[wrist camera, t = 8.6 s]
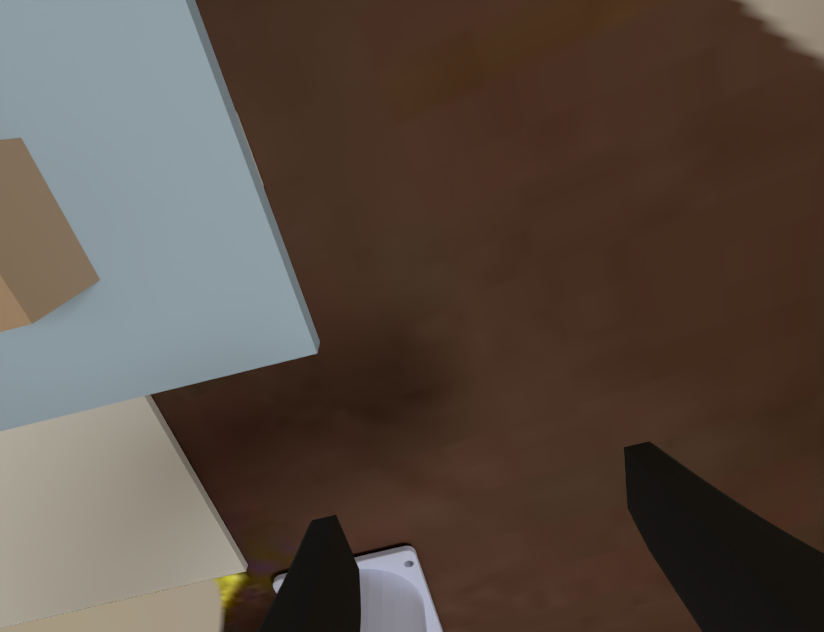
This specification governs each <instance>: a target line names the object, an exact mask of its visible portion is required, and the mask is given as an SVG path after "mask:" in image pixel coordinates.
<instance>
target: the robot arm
mask: <svg viewBox="0 0 824 632" xmlns="http://www.w3.org/2000/svg"><path fill="white" fill-rule="evenodd" d="M624 454H625V471H626V487H627V504H628V509H629V511H630V513H631V515H632V517H633V519H634V522H635V524H636V526H637V528H638V530H639V531H640V533H641V535H642V537H643V539H644V541H645V543H646V545H647V547H648V549H649V550H650V552H651V554H652V555H653V557H654V558H655V560H656V561H657V563H658V564H659V566H660V568H661V569H662V571H663V572H664V574H665V575H666V577H667V578H668V580H669V581H670V583H671V584H672V586H673V588H674V589H675V591H676V592H677V594H678V595H679V597H680V598H681V600H682V601H683V603H684V604H685V606H686V607H687V609H688V610H689V612H690V613H691V615H692V616H693V618H694V619H695V621H696V623H697V624H698V626H699V627H700V629H701V630H702V632H824V553H822V552H820V551H818V550H816V549H814V548H813V547H811V546H809V545H807V544H805V543H804V542H802V541H800V540H799V539H797V538H795V537H793V536H792V535H790V534H788V533H786V532H785V531H783V530H781V529H780V528H778V527H776V526H775V525H773V524H771V523H770V522H768V521H766V520H765V519H763V518H762V517H760V516H758V515H757V514H755V513H754V512H752V511H750V510H749V509H747V508H746V507H744V506H743V505H741V504H740V503H738V502H736V501H735V500H733V499H732V498H730V497H729V496H727V495H726V494H724V493H723V492H721V491H720V490H718V489H717V488H715V487H714V486H712V485H711V484H709V483H708V482H706V481H705V480H703V479H702V478H701V477H699V476H698V475H696V474H695V473H693V472H692V471H690V470H689V469H688V468H686V467H685V466H683V465H682V464H681V463H679V462H678V461H676V460H675V459H674V458H672V457H671V456H669V455H668V454H667V453H665V452H664V451H662V450H661V449H660V448H658V447H657V446H655V445H654V444H652V443H651V442H645V443H641V444H636V445H632V446H628V447H624ZM273 588H274V590H275V592H276V596H275V598H274V600H273V602H272V604H271V606H270V608H269V610H268V612H267V614H266V616H265V618H264V620H263V621H262V623H261V625H260V627H259V629H258V630H257V632H443V630H442V627H441V624H440V621H439V618H438V615H437V612H436V609H435V606H434V604H433V601H432V598H431V595H430V592H429V589H428V586H427V583H426V580H425V577H424V574H423V571H422V569H421V566H420V563H419V560H418V557H417V554H416V551H415V549H414V548H413V547H411V546H402V547H398V548H393V549H389V550H384V551H380V552H376V553H371V554H367V555H363V556H358V557H354V556H353V554H352V551H351V549H350V547H349V544H348V542H347V539H346V537H345V535H344V532H343V530H342V528H341V525H340V523H339V521H338V518H337V516H336V515H333V516H329V517H325V518H321V519H316V520H312V522H311V523H310V525H309V527H308V529H307V531H306V533H305V536H304V538H303V540H302V542H301V544H300V547H299V549H298V551H297V553H296V555H295V557H294V560H293V562H292V564H291V566H290V568H289V570H288V572H287V573H285V574H280V575H278V576H276V577H275V578H274V582H273Z"/></svg>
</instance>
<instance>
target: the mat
mask: <svg viewBox="0 0 824 632" xmlns="http://www.w3.org/2000/svg"><path fill="white" fill-rule="evenodd" d="M247 566H248V564H247V562H246V561H245V559H244V557H243V555H242V554H241V552H240V550H239V548H238V547H237V545H236V543H235V541H234V540H233V538H232V536H231V534H230V533H229V531H228V529H227V528H226V526H225V524H224V522H223V521H222V519H221V517H220V515H219V514H218V512H217V510H216V508H215V507H214V505H213V503H212V501H211V500H210V498H209V496H208V494H207V493H206V491H205V489H204V487H203V486H202V484H201V482H200V480H199V479H198V477H197V475H196V473H195V472H194V470H193V468H192V466H191V465H190V463H189V461H188V459H187V458H186V456H185V454H184V452H183V451H182V449H181V447H180V445H179V444H178V442H177V440H176V439H175V437H174V435H173V433H172V432H171V430H170V428H169V426H168V425H167V423H166V421H165V419H164V418H163V416H162V414H161V412H160V411H159V409H158V407H157V405H156V404H155V402H154V400H153V398H152V397H151V395H146V396H142V397H138V398H134V399H130V400H126V401H122V402H118V403H114V404H110V405H106V406H101V407H97V408H93V409H89V410H85V411H81V412H77V413H73V414H69V415H65V416H61V417H57V418H53V419H49V420H45V421H40V422H36V423H32V424H28V425H24V426H20V427H16V428H12V429H8V430H4V431H0V628H3V627H8V626H12V625H16V624H21V623H24V622H29V621H33V620H38V619H42V618H46V617H51V616H55V615H59V614H64V613H68V612H73V611H76V610H81V609H86V608H90V607H94V606H99V605H102V604H107V603H111V602H116V601H120V600H124V599H129V598H133V597H137V596H142V595H146V594H150V593H155V592H159V591H163V590H167V589H172V588H176V587H180V586H185V585H189V584H193V583H197V582H202V581H206V580H211V579H215V578H219V577H224V576H228V575H232V574H237V573H241V572H245V571H246V569H247Z"/></svg>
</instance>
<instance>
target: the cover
mask: <svg viewBox="0 0 824 632" xmlns="http://www.w3.org/2000/svg"><path fill="white" fill-rule="evenodd" d="M319 344H320V341H319V338H318V335H317V333H316V330H315V327H314V324H313V322H312V319H311V316H310V314H309V311H308V308H307V305H306V303H305V300H304V297H303V294H302V292H301V289H300V286H299V283H298V281H297V278H296V275H295V273H294V270H293V267H292V264H291V262H290V259H289V256H288V253H287V251H286V248H285V245H284V242H283V240H282V237H281V234H280V231H279V229H278V226H277V223H276V221H275V218H274V215H273V212H272V210H271V207H270V204H269V201H268V199H267V196H266V193H265V190H264V188H263V185H262V182H261V180H260V177H259V174H258V171H257V169H256V166H255V163H254V160H253V158H252V155H251V152H250V149H249V147H248V144H247V141H246V139H245V136H244V133H243V130H242V128H241V125H240V122H239V119H238V117H237V114H236V111H235V108H234V106H233V103H232V100H231V98H230V95H229V92H228V89H227V87H226V84H225V81H224V78H223V76H222V73H221V70H220V67H219V65H218V62H217V59H216V57H215V54H214V51H213V48H212V46H211V43H210V40H209V37H208V35H207V32H206V29H205V26H204V24H203V21H202V18H201V16H200V13H199V10H198V7H197V5H196V2H195V0H0V431H4V430H8V429H12V428H16V427H20V426H24V425H28V424H32V423H36V422H40V421H45V420H49V419H53V418H57V417H61V416H65V415H69V414H73V413H77V412H81V411H85V410H89V409H93V408H97V407H101V406H106V405H110V404H114V403H118V402H122V401H126V400H130V399H134V398H138V397H142V396H146V395H150V394H154V393H158V392H162V391H167V390H171V389H175V388H179V387H183V386H187V385H191V384H195V383H199V382H203V381H207V380H211V379H215V378H219V377H223V376H228V375H232V374H236V373H240V372H244V371H248V370H252V369H256V368H260V367H264V366H268V365H272V364H276V363H280V362H284V361H289V360H293V359H297V358H301V357H305V356H309V355H313V354H317V352H318V348H319Z"/></svg>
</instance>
